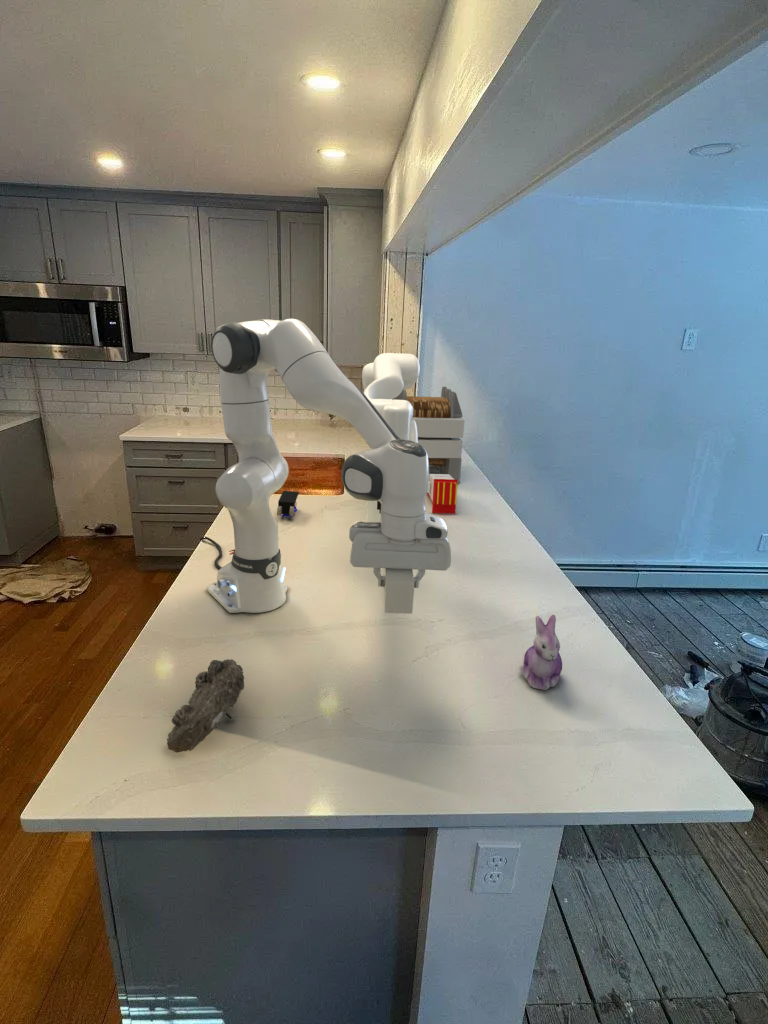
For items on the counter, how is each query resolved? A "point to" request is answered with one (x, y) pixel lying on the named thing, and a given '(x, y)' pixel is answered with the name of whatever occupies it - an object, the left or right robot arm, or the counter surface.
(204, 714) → the fossil
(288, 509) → the figurine character
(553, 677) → the figurine
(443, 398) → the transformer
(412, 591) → the beam
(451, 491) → the toy
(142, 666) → the counter surface
